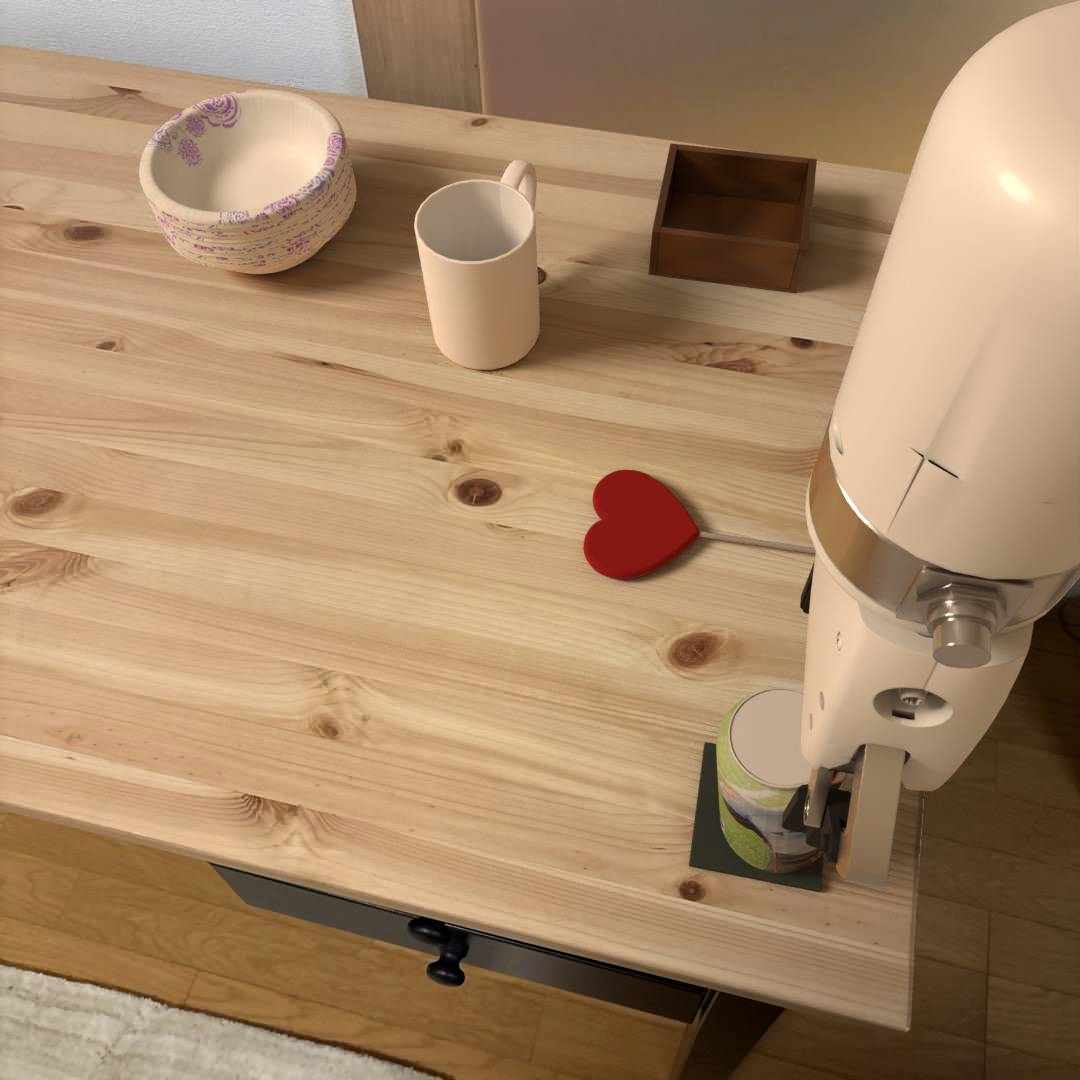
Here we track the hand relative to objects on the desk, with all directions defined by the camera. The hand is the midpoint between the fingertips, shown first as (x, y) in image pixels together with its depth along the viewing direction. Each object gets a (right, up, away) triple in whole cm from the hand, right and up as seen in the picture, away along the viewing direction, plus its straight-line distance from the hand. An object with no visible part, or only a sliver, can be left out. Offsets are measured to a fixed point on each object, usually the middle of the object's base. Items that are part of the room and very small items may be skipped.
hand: (829, 713), depth 42 cm
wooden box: (+3, +31, +36) cm, 48 cm away
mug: (-15, +24, +33) cm, 44 cm away
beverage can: (0, -8, +13) cm, 16 cm away
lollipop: (-2, +7, +23) cm, 24 cm away
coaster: (0, -8, +14) cm, 16 cm away
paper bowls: (-34, +32, +38) cm, 60 cm away
